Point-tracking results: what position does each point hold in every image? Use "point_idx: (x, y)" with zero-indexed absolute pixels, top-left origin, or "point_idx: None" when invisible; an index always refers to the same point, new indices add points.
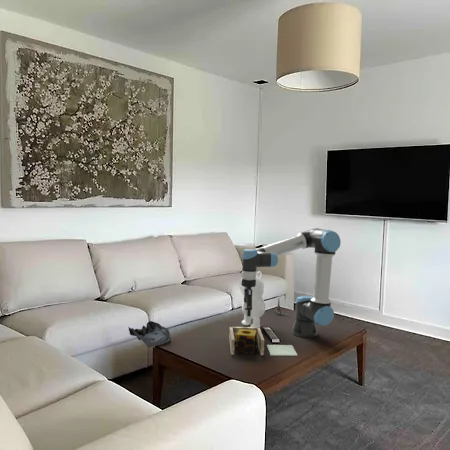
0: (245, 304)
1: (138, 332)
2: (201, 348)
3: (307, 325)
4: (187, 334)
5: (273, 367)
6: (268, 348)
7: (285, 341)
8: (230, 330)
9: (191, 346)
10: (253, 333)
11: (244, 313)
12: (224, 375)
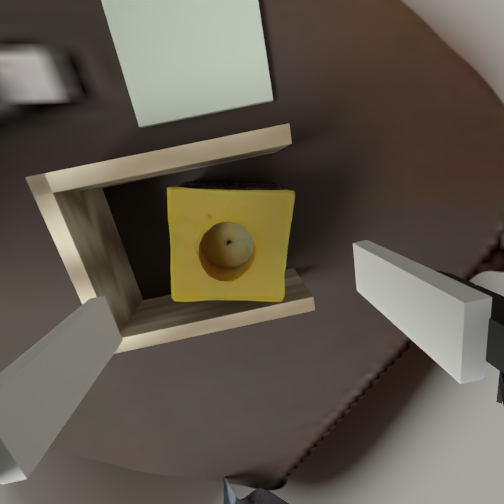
0: (38, 427)
1: None
2: (255, 385)
3: None
4: (129, 458)
5: (407, 82)
6: (192, 115)
7: (17, 4)
8: (169, 340)
9: (245, 417)
10: (242, 203)
11: (114, 338)
12: (478, 269)
